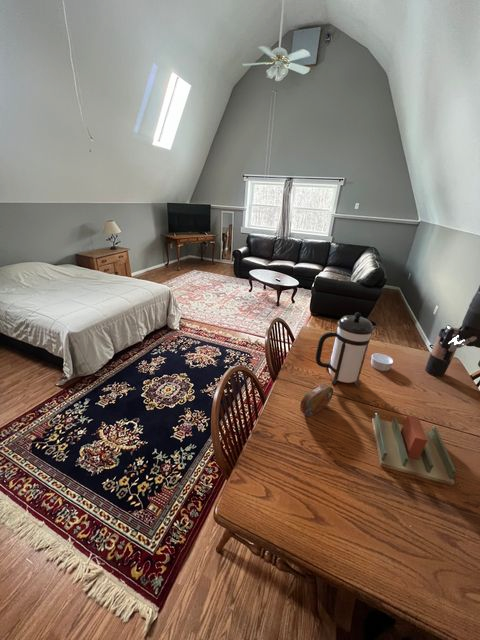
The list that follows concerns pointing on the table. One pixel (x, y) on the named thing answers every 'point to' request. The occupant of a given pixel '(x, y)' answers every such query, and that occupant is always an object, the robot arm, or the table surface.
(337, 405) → the table surface
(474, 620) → the table surface
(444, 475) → the rack
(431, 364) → the travel mug
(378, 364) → the ramekin
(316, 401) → the brown flat oval slab
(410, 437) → the block
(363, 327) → the coffee press
